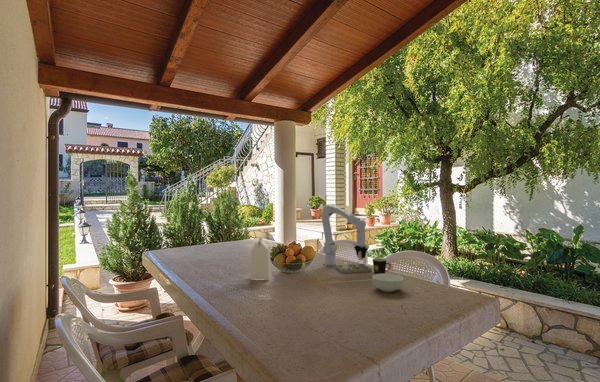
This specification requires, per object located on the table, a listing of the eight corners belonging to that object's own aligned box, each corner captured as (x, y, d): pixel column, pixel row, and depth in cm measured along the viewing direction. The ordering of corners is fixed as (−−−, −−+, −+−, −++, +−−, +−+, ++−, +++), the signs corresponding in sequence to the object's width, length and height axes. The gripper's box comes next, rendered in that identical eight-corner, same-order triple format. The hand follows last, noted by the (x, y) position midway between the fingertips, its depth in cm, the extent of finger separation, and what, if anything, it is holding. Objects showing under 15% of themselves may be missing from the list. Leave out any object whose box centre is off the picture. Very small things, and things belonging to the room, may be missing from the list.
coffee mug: (370, 274, 214) (370, 258, 214) (381, 273, 217) (381, 257, 217) (379, 278, 203) (379, 262, 203) (392, 277, 206) (391, 261, 206)
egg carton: (336, 269, 228) (336, 265, 228) (364, 268, 231) (363, 263, 231) (342, 274, 214) (342, 270, 214) (371, 273, 218) (371, 268, 218)
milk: (269, 280, 203) (268, 238, 202) (250, 280, 203) (249, 238, 203) (271, 275, 215) (270, 235, 214) (253, 275, 215) (253, 235, 215)
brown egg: (356, 259, 228) (356, 250, 228) (361, 258, 230) (361, 249, 230) (360, 260, 224) (360, 251, 224) (365, 259, 226) (365, 250, 226)
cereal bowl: (405, 295, 171) (405, 281, 171) (372, 293, 174) (372, 280, 174) (402, 286, 188) (401, 273, 188) (372, 284, 191) (371, 272, 191)
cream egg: (341, 270, 220) (341, 261, 220) (347, 270, 221) (347, 261, 221) (343, 272, 216) (343, 263, 216) (349, 272, 217) (349, 263, 217)
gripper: (349, 236, 232) (350, 256, 232) (362, 239, 219) (363, 259, 219) (357, 235, 235) (358, 255, 235) (371, 238, 222) (371, 258, 222)
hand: (361, 257), depth 227 cm, fingers closed on brown egg, 4 cm apart
